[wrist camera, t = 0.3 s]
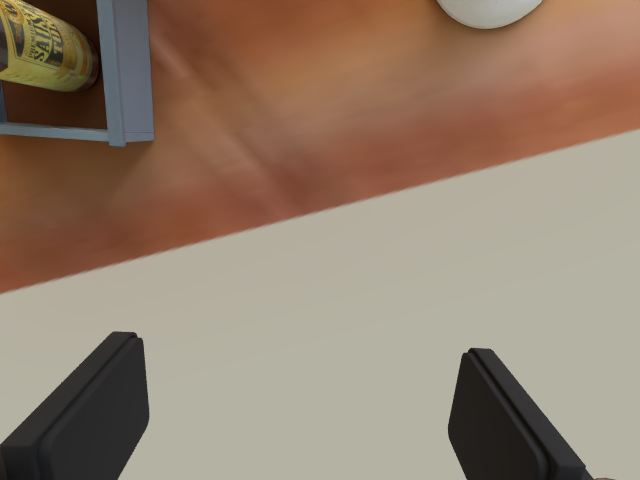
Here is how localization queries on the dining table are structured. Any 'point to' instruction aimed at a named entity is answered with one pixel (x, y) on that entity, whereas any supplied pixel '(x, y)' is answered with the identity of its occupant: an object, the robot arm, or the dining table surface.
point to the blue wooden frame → (112, 81)
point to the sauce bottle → (44, 50)
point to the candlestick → (487, 11)
